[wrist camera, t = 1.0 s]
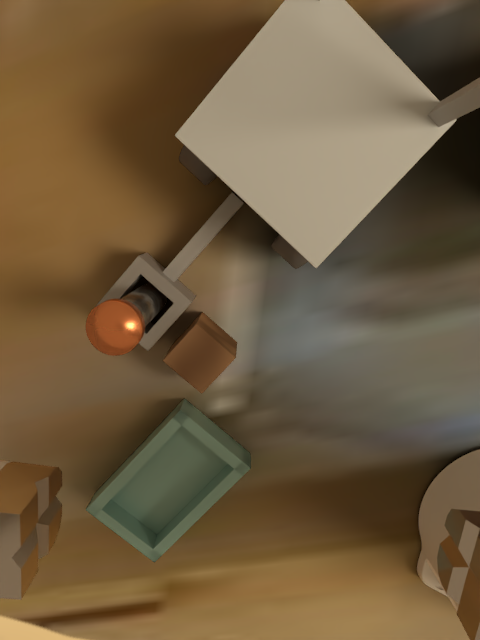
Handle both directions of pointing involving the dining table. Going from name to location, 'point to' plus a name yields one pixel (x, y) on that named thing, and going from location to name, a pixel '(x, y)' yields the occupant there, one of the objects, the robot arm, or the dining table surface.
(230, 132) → the trolley
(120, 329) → the pin
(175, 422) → the tray
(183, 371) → the block
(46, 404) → the dining table surface
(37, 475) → the robot arm
